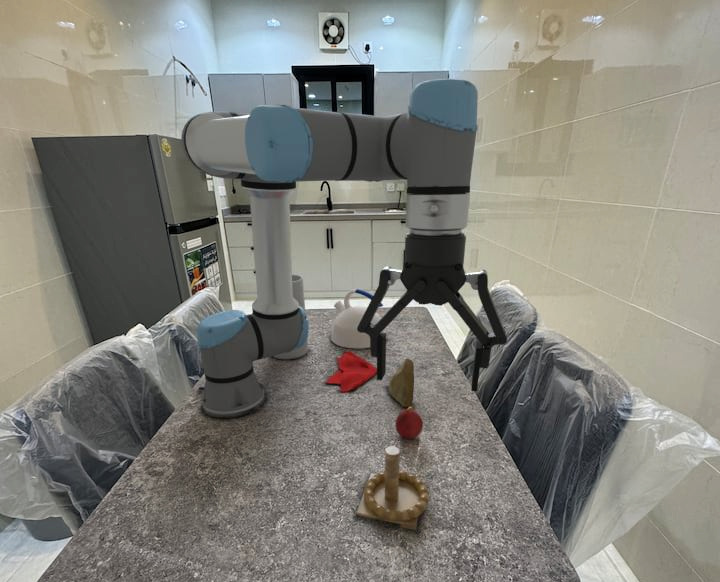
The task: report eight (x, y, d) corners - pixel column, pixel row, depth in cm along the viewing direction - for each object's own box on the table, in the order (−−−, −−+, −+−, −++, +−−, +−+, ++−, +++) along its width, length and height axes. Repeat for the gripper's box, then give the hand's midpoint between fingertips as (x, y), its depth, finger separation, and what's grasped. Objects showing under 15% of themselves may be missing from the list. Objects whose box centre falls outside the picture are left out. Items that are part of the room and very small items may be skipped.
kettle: (352, 324, 153) (351, 280, 145) (397, 335, 141) (398, 287, 134) (318, 340, 138) (315, 291, 130) (365, 353, 126) (365, 300, 119)
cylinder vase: (314, 354, 127) (309, 279, 117) (279, 363, 121) (271, 285, 110) (298, 342, 136) (292, 272, 126) (264, 350, 130) (255, 277, 120)
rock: (422, 403, 93) (428, 380, 101) (401, 377, 91) (409, 355, 99) (388, 418, 99) (396, 395, 107) (367, 394, 97) (378, 372, 105)
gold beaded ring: (355, 514, 64) (355, 506, 63) (374, 470, 73) (374, 463, 73) (422, 530, 60) (423, 523, 60) (432, 482, 70) (433, 475, 70)
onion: (404, 449, 81) (405, 417, 78) (390, 435, 85) (390, 404, 82) (427, 441, 83) (429, 410, 80) (411, 427, 88) (413, 397, 85)
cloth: (370, 394, 102) (370, 386, 101) (321, 390, 104) (320, 383, 104) (381, 354, 126) (381, 348, 125) (340, 352, 128) (340, 346, 127)
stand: (356, 518, 64) (354, 465, 60) (370, 477, 73) (370, 428, 69) (415, 530, 62) (418, 476, 57) (423, 487, 71) (426, 437, 66)
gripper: (331, 233, 48) (338, 383, 56) (548, 236, 41) (519, 405, 50) (349, 226, 54) (352, 361, 63) (539, 229, 48) (514, 379, 57)
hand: (426, 381), depth 56 cm, fingers open, 13 cm apart
